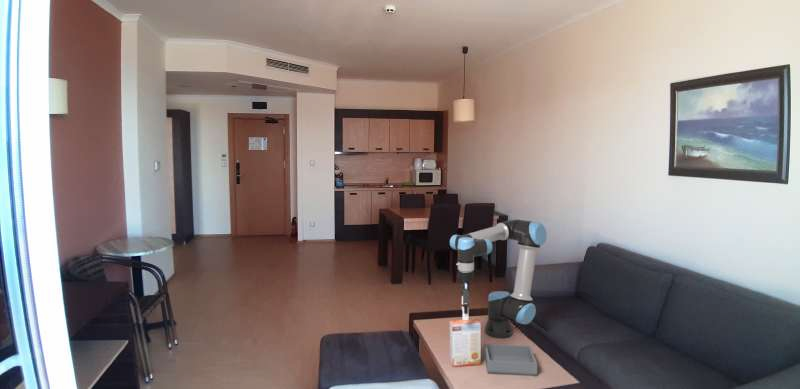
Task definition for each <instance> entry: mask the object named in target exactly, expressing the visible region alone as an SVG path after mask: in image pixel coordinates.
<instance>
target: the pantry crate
mask: <svg viewBox="0 0 800 389" xmlns="http://www.w3.org/2000/svg"><path fill="white" fill-rule="evenodd" d="M532 349H533V348H532V347H531V346H530V345H515V344H514V345H513V344H495V343H494V344H491V343H490V344H489V343H484V361H485V365H486V366H485V367H486V372H487V374H488V375H507V376H508V375H509V376H510V375H511V376H523V377H524V376H526V377H538V363H537V359H536V357H535V355H534V353H533V350H532Z"/></svg>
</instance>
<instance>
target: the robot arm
mask: <svg viewBox="0 0 800 389" xmlns="http://www.w3.org/2000/svg"><path fill="white" fill-rule="evenodd" d="M499 240H501V241H505V240H506V241H507V240H511V241H517V246H518V247H519V252H518V259H517V260H518V261H517V267H516V273H515V282H514V288H513V292H512V293H510V292H509V291H505V290H503V291H501V290H498V291H496V290H495V291H491V292H490V293H489V294H488V300H487V307H488V308H487V319H486V320H487V321H486V323H485V327H484V334H485V335H487V336H489V337H492V338H497V339H505V338H506V339H507V338H510V337H511V336H513V327H512V324H511V321H513V322H516V323H517V324H520V325H529V324H530V323H531V322H532V321H533V320H534V319H535V316H536V312H537V309H536V308H537V307H536V305H535V304H533V301H534V300H533V298H532V297H531V292H532V286H533V279H534V271H535V263H536V256H537V251H538V250H540V249H541V246H543V245H544V244H545V242H546V240H547V229H546V227H545V226H544V224H542V223H541V222H536V221H530V220H524V219H510V220H506V221H502V222H498V223H497V224H495V226H490V227H488V228H487V227H486V228H483V229H480V230H477V231H474V232H469V233H467V234H466V233H465V234H462V235H460V234H453V235H452V236H451V237H450V239H449V246H450V248H451V249H453V250H456V251H457V263H456V266H457V279H458V280H459V281H461V282H460V286H461V310H462V319H461V320H468V319H469V316H470V315H469V314H470V313H469V310H470V308H469V307H470V300H469V299H470V297H469V296H470V295H469V293H470V287H471V286H470V285H471V283H470V281H472V280H474V275H475V274H474V273H475V272H474V270H475V257H481V256H486V255H489V254H491V253H492V251H493V242H496V241H499Z"/></svg>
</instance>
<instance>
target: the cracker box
mask: <svg viewBox="0 0 800 389" xmlns="http://www.w3.org/2000/svg"><path fill="white" fill-rule="evenodd" d="M481 326H482V324H481V322H480V320H479V319H478V318H468V320H462V319H455V320H449V363H450V365H451V366H452V368H457V367H467V366H469V367H470V366H478V365H479V366H480V365H481V362H482V359H481V357H482V356H481V355H482V354H481V353H482V352H481V350H482V349H481V347H482V346H481V345H482V343H481V342H482V340H481V339H482V338H481V337H482V334H481V333H482V328H481Z"/></svg>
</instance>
